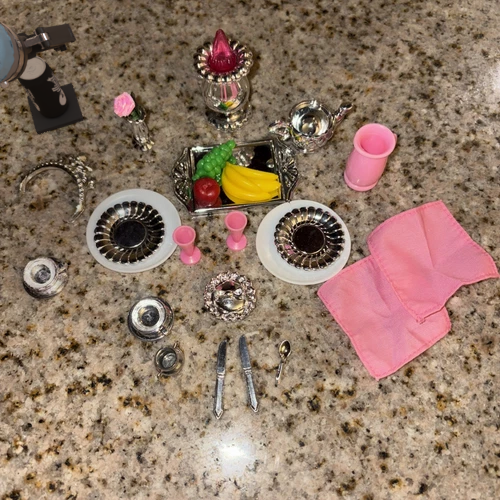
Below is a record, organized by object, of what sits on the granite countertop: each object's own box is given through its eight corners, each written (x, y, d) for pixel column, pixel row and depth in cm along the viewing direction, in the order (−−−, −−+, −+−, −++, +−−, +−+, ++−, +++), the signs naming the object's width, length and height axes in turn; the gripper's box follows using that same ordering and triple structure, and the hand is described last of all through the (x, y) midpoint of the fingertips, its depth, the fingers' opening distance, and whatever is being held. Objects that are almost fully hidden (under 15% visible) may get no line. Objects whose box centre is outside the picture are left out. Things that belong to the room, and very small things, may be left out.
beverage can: (64, 121, 105) (41, 82, 93) (35, 117, 105) (8, 78, 94) (73, 96, 107) (51, 55, 96) (44, 93, 107) (19, 52, 96)
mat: (28, 99, 108) (26, 96, 107) (73, 85, 109) (71, 82, 108) (38, 134, 105) (36, 132, 104) (83, 120, 106) (82, 117, 105)
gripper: (-92, 119, 60) (-49, 108, 79) (100, 47, 64) (97, 53, 83) (-131, 57, 57) (-76, 61, 76) (73, -15, 61) (76, 6, 80)
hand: (14, 57), depth 79 cm, fingers open, 13 cm apart
